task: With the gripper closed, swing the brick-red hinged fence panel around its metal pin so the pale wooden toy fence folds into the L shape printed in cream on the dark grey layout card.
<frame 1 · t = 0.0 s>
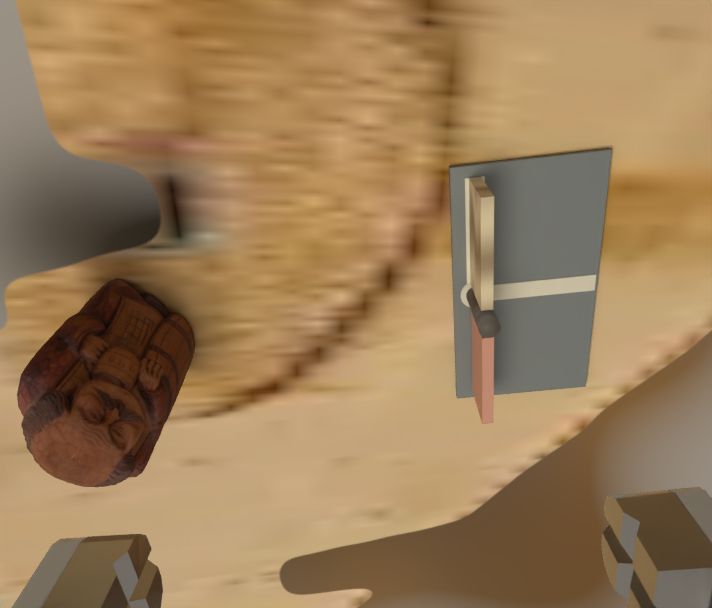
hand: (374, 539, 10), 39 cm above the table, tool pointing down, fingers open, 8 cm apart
wooden figurine: (149, 323, 53), on the table
layout card: (523, 286, 51), on the table
hinged fence panel: (482, 366, 51), point 3 cm above the table, hinge at 0.0°
fixed fence panel: (474, 291, 51), resting on layout card
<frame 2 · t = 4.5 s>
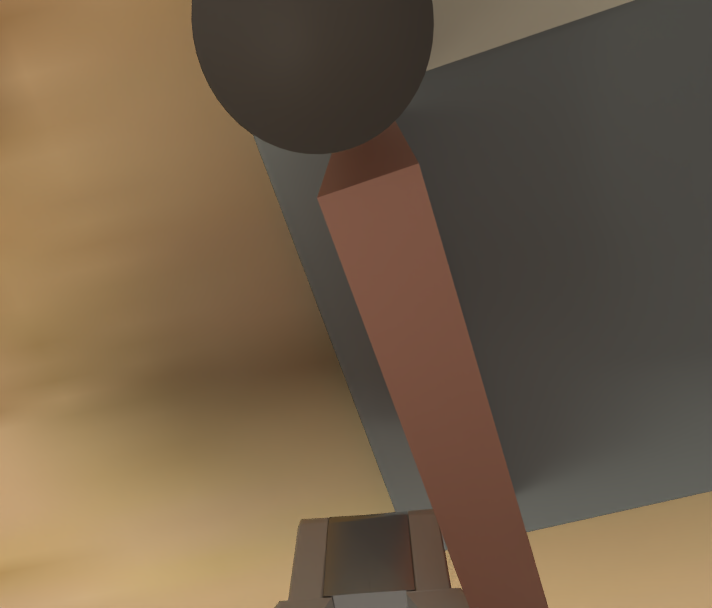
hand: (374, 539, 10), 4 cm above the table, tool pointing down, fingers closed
hinged fence panel: (455, 422, 9), point 3 cm above the table, hinge at 1.2°, touching gripper
fixed fence panel: (341, 48, 10), resting on layout card
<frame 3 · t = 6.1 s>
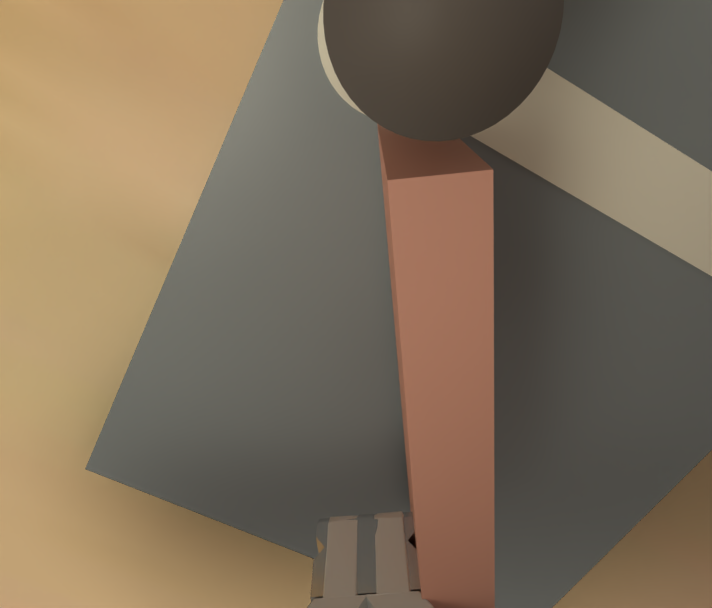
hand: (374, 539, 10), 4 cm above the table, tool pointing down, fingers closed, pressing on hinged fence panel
layout card: (595, 157, 11), on the table
hinged fence panel: (433, 423, 9), point 3 cm above the table, hinge at 34.3°, touching gripper
fixed fence panel: (396, 37, 10), resting on layout card
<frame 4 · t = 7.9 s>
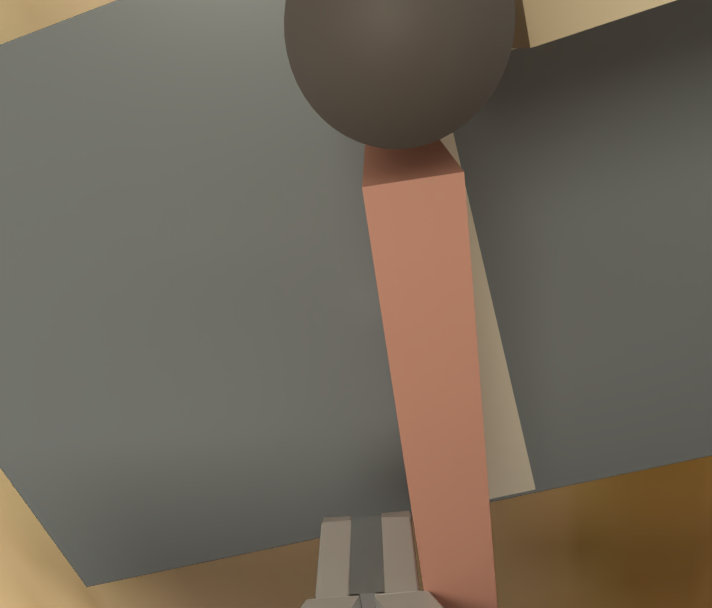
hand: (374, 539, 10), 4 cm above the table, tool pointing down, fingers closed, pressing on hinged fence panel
layout card: (441, 261, 12), on the table
hinged fence panel: (434, 420, 10), point 3 cm above the table, hinge at 81.6°, touching gripper
fixed fence panel: (383, 41, 10), resting on layout card
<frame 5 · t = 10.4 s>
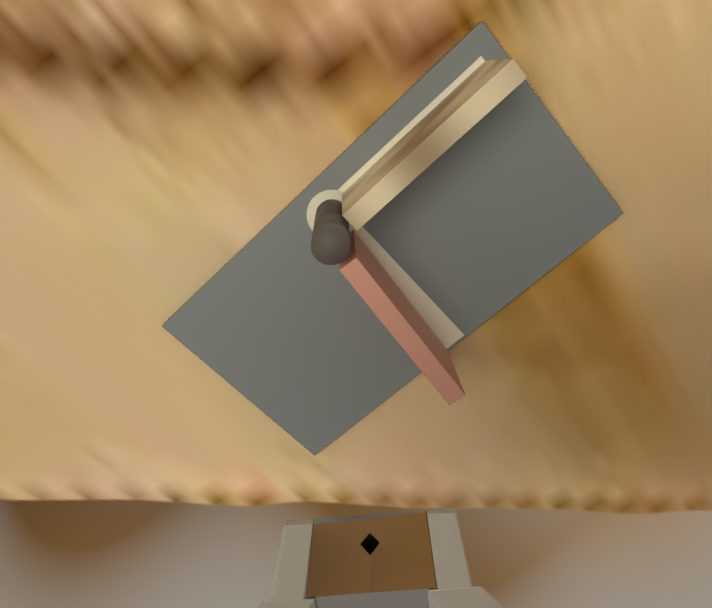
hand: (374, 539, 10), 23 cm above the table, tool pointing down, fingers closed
layout card: (385, 268, 32), on the table
hinged fence panel: (400, 315, 30), point 3 cm above the table, hinge at 84.4°
fixed fence panel: (332, 212, 31), resting on layout card
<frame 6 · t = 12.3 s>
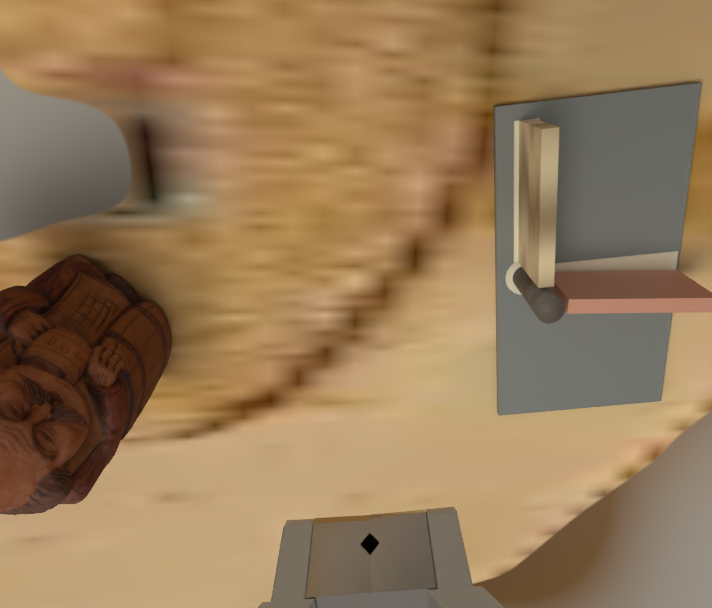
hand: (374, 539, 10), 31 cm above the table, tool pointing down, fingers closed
wooden figurine: (116, 314, 43), on the table
layout card: (584, 267, 41), on the table
hinged fence panel: (625, 290, 38), point 3 cm above the table, hinge at 84.4°
fixed fence panel: (522, 274, 41), resting on layout card
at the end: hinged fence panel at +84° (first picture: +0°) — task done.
